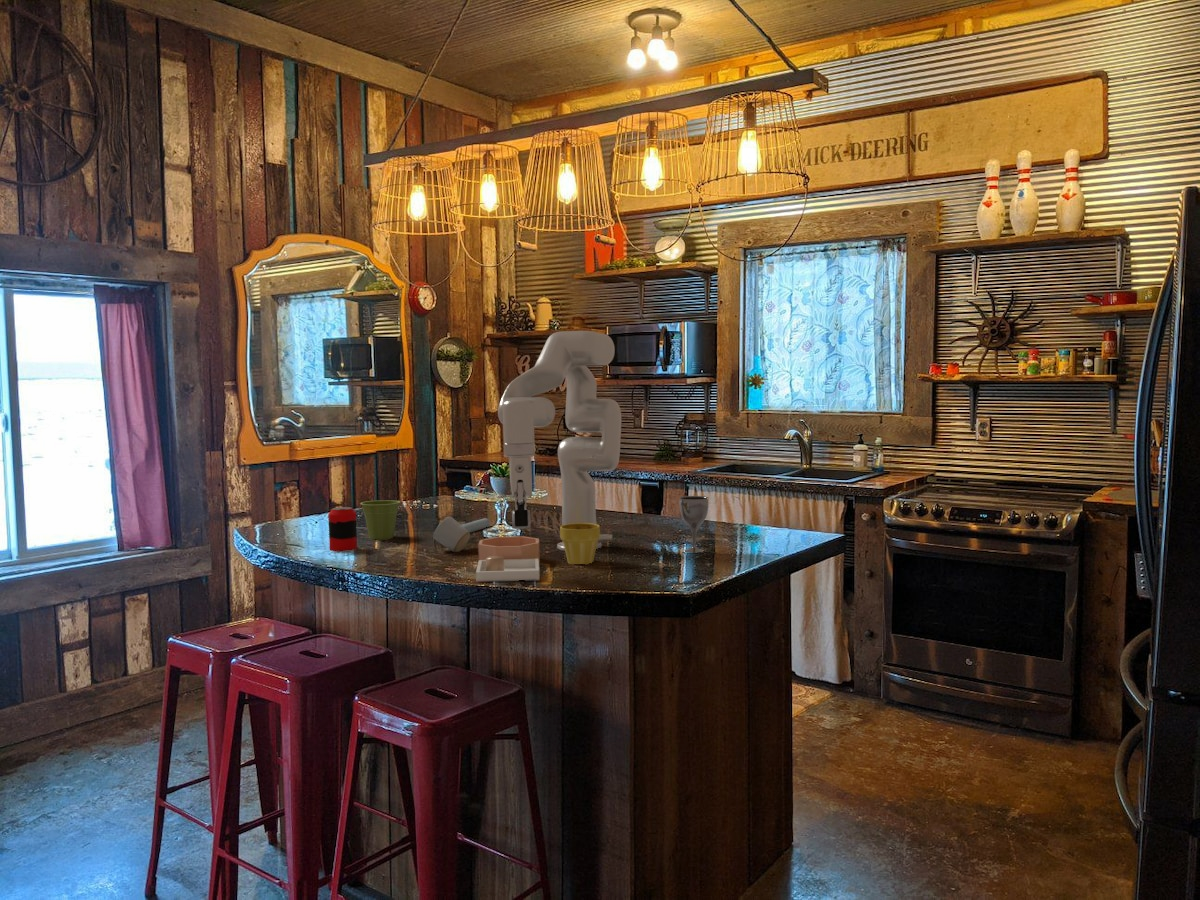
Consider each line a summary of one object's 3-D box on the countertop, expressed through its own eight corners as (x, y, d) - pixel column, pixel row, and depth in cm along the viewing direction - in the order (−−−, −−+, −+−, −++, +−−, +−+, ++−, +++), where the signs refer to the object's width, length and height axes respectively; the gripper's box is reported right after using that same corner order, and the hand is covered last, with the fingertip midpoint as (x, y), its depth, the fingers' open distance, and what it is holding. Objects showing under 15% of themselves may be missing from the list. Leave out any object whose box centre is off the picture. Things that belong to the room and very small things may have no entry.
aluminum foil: (454, 540, 285) (453, 529, 285) (435, 539, 288) (435, 527, 288) (490, 528, 306) (490, 518, 306) (472, 527, 309) (472, 517, 309)
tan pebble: (504, 571, 233) (504, 555, 233) (504, 575, 229) (503, 558, 228) (486, 571, 233) (486, 556, 233) (485, 575, 228) (485, 559, 228)
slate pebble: (530, 525, 233) (529, 509, 233) (530, 528, 229) (530, 512, 229) (512, 525, 233) (512, 509, 233) (512, 529, 229) (511, 512, 228)
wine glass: (712, 550, 261) (712, 496, 260) (703, 555, 254) (703, 500, 252) (685, 548, 264) (685, 495, 263) (675, 553, 257) (675, 498, 256)
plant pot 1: (409, 537, 288) (408, 501, 288) (381, 543, 278) (380, 505, 278) (381, 534, 295) (380, 498, 294) (353, 540, 285) (351, 503, 284)
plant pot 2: (586, 568, 238) (585, 530, 238) (552, 564, 244) (552, 527, 243) (607, 561, 247) (607, 524, 246) (574, 557, 253) (574, 521, 252)
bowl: (538, 555, 256) (538, 535, 255) (539, 567, 240) (539, 545, 240) (480, 557, 255) (480, 537, 254) (478, 569, 239) (477, 547, 239)
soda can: (331, 553, 263) (329, 511, 262) (328, 549, 270) (326, 507, 269) (358, 551, 266) (357, 509, 265) (355, 547, 273) (353, 506, 272)
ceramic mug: (453, 559, 261) (459, 540, 257) (429, 542, 263) (436, 523, 258) (474, 540, 269) (481, 521, 265) (452, 524, 271) (458, 505, 267)
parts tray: (538, 568, 239) (538, 558, 239) (539, 580, 224) (539, 570, 224) (479, 569, 238) (478, 560, 238) (476, 582, 223) (475, 572, 223)
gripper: (535, 453, 221) (537, 530, 223) (534, 446, 238) (536, 518, 240) (503, 454, 220) (505, 531, 222) (504, 447, 237) (506, 519, 239)
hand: (521, 523), depth 231 cm, fingers closed on slate pebble, 4 cm apart
